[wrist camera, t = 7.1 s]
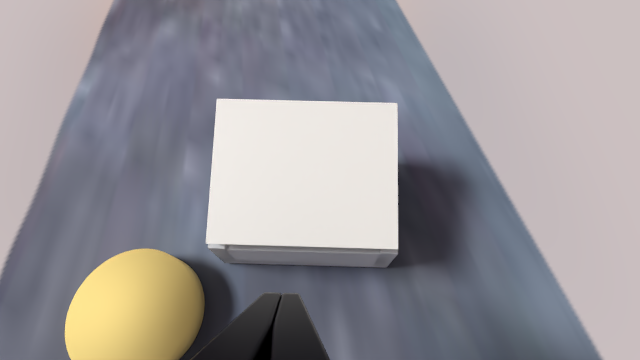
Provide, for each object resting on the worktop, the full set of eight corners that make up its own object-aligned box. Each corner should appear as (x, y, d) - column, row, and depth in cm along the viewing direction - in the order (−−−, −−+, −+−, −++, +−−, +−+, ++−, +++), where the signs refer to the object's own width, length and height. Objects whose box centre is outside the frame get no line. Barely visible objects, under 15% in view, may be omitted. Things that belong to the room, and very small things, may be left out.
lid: (394, 248, 15) (398, 249, 14) (211, 242, 15) (205, 243, 14) (394, 108, 16) (397, 103, 15) (221, 104, 16) (217, 98, 15)
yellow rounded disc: (119, 409, 15) (97, 418, 14) (68, 305, 17) (45, 303, 16) (226, 319, 17) (217, 318, 15) (169, 233, 19) (156, 225, 17)
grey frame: (386, 267, 18) (399, 252, 15) (224, 262, 18) (206, 246, 15) (379, 159, 21) (388, 130, 18) (242, 155, 21) (230, 126, 18)
